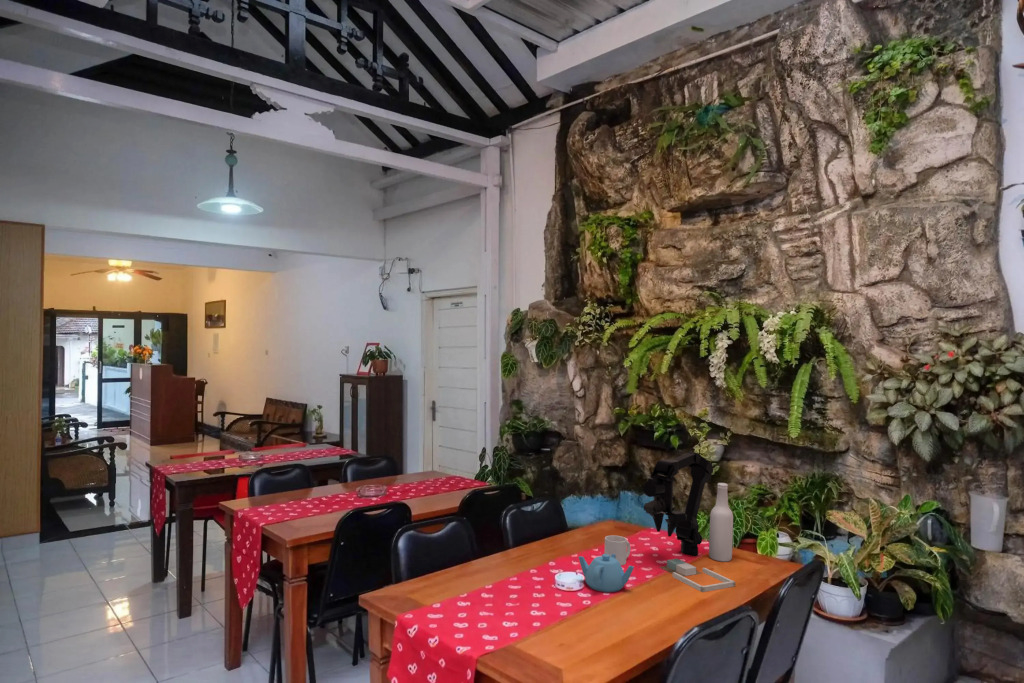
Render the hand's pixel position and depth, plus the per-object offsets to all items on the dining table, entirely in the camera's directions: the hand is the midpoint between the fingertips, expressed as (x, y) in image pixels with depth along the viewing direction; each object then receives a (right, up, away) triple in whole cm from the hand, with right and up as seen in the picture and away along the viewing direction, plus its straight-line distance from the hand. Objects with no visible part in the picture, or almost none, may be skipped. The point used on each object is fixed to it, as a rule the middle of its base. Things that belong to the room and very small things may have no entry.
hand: (663, 534), depth 240 cm
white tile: (+5, -11, -12) cm, 17 cm away
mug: (-18, -12, -1) cm, 21 cm away
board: (+4, -12, -9) cm, 16 cm away
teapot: (-26, -11, -23) cm, 37 cm away
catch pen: (+9, -12, -20) cm, 25 cm away
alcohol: (+25, -13, +11) cm, 30 cm away
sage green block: (+3, -11, -7) cm, 13 cm away
